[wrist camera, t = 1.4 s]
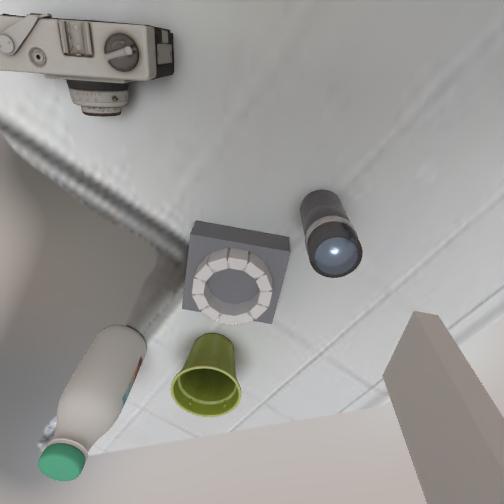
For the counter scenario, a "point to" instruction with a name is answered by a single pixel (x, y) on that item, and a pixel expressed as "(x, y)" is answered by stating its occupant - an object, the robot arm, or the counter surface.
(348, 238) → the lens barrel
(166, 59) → the camera
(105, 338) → the milk bottle
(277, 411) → the counter surface
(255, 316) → the mount block
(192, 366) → the plant pot
